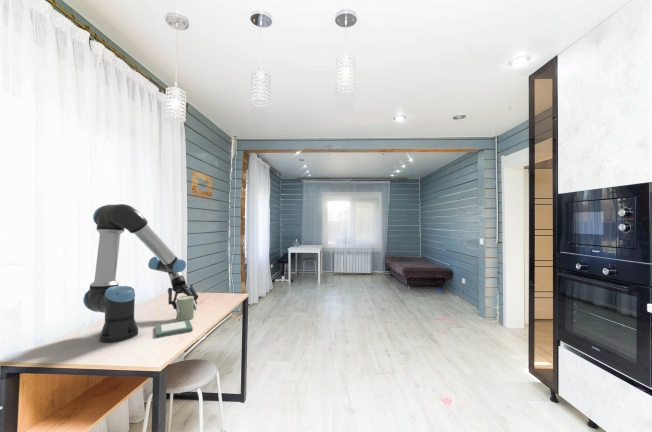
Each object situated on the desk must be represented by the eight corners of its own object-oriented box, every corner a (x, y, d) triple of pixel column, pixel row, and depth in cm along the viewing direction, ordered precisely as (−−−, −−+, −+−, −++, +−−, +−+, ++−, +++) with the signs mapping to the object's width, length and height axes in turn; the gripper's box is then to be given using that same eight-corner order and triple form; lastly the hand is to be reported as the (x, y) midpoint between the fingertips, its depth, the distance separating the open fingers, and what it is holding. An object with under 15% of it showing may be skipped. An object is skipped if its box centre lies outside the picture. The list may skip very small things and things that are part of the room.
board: (155, 337, 137) (155, 334, 137) (155, 327, 151) (155, 324, 151) (192, 331, 145) (192, 327, 145) (189, 322, 159) (189, 319, 159)
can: (189, 320, 162) (189, 298, 163) (173, 320, 162) (173, 298, 163) (196, 315, 171) (196, 294, 172) (181, 315, 172) (181, 295, 172)
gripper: (193, 281, 186) (204, 310, 174) (156, 286, 170) (165, 319, 159) (197, 273, 182) (208, 303, 171) (159, 278, 167) (168, 311, 155)
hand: (187, 311), depth 165 cm, fingers closed on can, 9 cm apart
